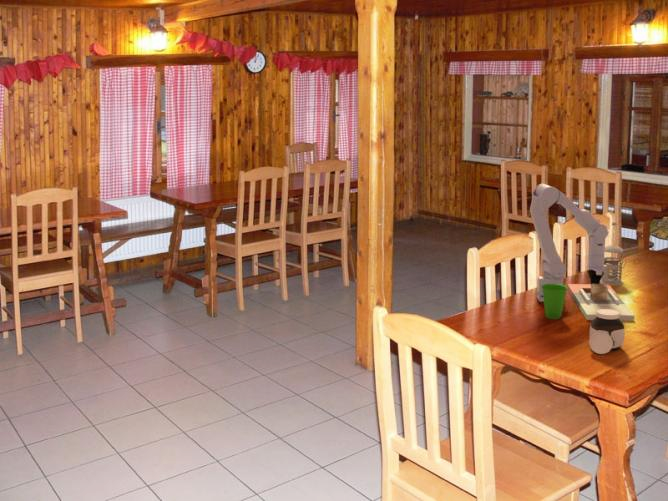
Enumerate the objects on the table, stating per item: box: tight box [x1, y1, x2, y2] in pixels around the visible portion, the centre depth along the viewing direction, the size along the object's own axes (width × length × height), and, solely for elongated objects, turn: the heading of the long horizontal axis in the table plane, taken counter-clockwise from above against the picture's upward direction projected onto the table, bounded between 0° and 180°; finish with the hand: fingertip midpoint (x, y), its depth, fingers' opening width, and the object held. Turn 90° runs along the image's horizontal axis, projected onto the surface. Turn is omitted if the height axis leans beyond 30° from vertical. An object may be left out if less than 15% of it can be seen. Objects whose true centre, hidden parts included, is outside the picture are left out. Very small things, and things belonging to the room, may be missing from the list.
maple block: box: [591, 283, 608, 301], centre depth 309 cm, size 5×5×5 cm
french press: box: [599, 221, 627, 286], centre depth 338 cm, size 10×12×25 cm
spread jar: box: [588, 309, 626, 355], centre depth 259 cm, size 12×11×12 cm
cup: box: [541, 284, 568, 320], centre depth 293 cm, size 9×9×11 cm
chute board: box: [566, 283, 636, 322], centre depth 310 cm, size 16×42×4 cm, turn 174°
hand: (594, 289), depth 318 cm, fingers closed
